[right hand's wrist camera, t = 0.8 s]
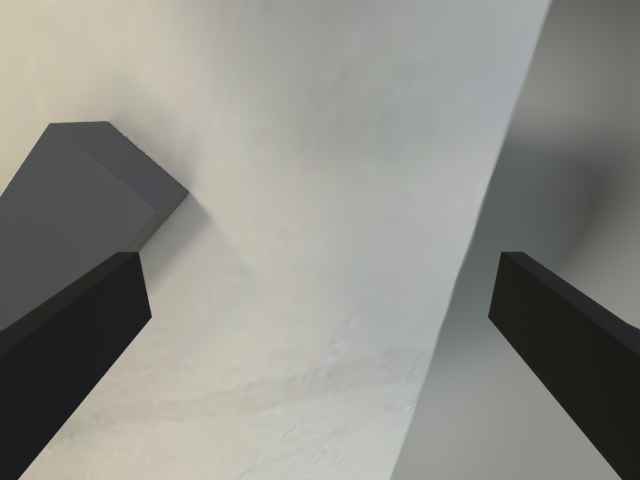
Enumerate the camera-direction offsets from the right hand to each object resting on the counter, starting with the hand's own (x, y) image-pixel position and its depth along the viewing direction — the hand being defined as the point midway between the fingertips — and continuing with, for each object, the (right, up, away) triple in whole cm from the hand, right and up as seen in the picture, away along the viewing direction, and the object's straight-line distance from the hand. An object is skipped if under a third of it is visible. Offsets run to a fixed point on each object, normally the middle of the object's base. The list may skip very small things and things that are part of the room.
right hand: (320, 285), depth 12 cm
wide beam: (-34, -8, +26) cm, 44 cm away
